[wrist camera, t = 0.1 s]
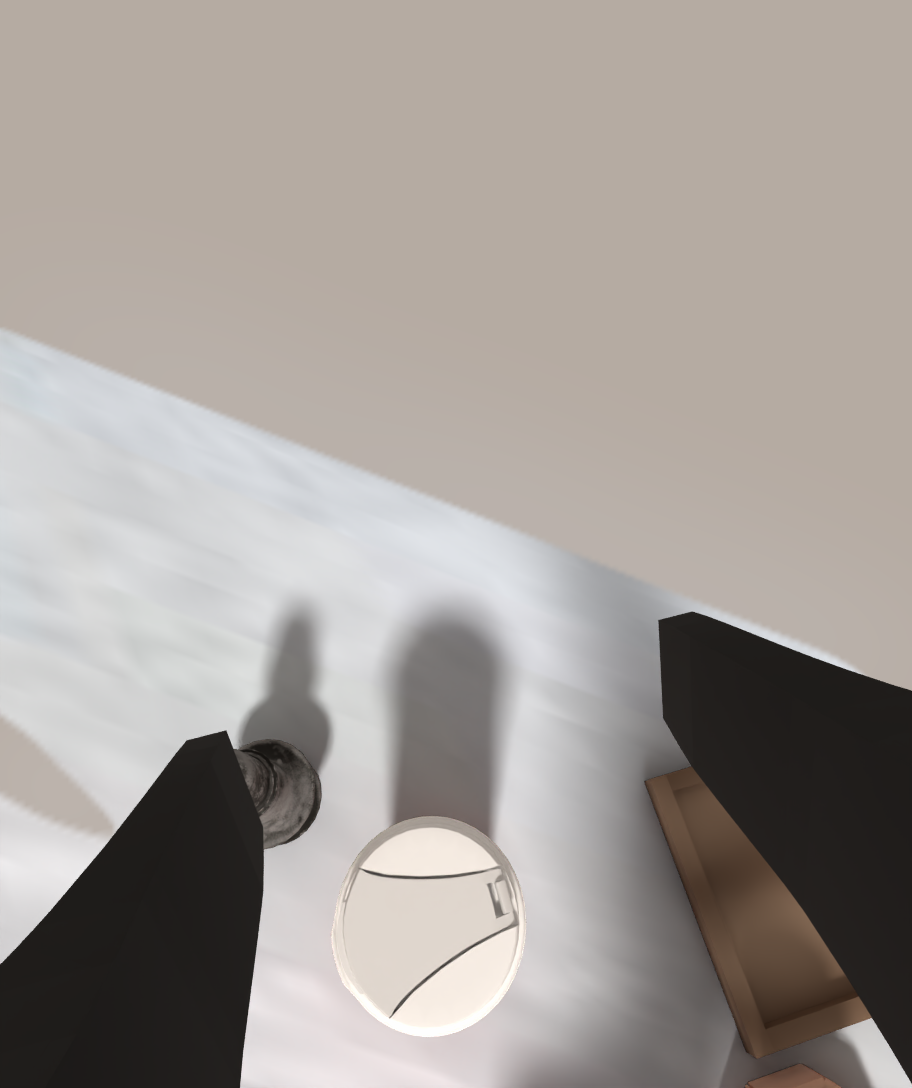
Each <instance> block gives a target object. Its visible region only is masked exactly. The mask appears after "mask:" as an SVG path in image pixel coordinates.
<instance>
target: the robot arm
mask: <svg viewBox="0 0 912 1088" xmlns="http://www.w3.org/2000/svg"><path fill="white" fill-rule="evenodd" d="M658 621H659V641H660V662H661V682H662V703H663V719H664V720H665V722H666V724H667V725H668V727H669V729H670V731H671V732H672V734H673V736H674V738H675V739H676V741H677V743H678V745H679V746H680V748H681V750H682V751H683V753H684V754H685V756H686V758H687V759H688V761H689V762H690V764H691V766H692V767H693V769H694V770H695V772H696V773H697V774H698V776H699V777H700V778H701V779H702V781H703V782H704V783H705V785H706V786H707V787H708V788H709V790H710V791H711V792H712V794H713V795H714V796H715V797H716V799H717V800H718V801H719V803H720V804H721V805H722V806H723V808H724V809H725V810H726V812H727V813H728V814H729V815H730V817H731V818H732V819H733V820H734V822H735V823H736V824H737V825H738V827H739V828H740V829H741V830H742V832H743V833H744V834H745V835H746V837H747V838H748V839H749V841H750V842H751V843H752V844H753V846H754V847H755V848H756V849H757V851H758V852H759V853H760V854H761V856H762V857H763V858H764V859H765V861H766V862H767V863H768V865H769V866H770V867H771V868H772V870H773V871H774V872H775V873H776V875H777V876H778V877H779V878H780V880H781V881H782V882H783V883H784V885H785V886H786V888H787V889H788V890H789V892H790V893H791V894H792V896H793V897H794V899H795V900H796V901H797V903H798V904H799V905H800V907H801V908H802V909H803V911H804V912H805V914H806V915H807V917H808V918H809V920H810V921H811V923H812V925H813V926H814V928H815V929H816V931H817V932H818V934H819V935H820V937H821V938H822V940H823V941H824V943H825V944H826V946H827V948H828V949H829V951H830V952H831V954H832V955H833V957H834V958H835V960H836V961H837V963H838V964H839V966H840V967H841V969H842V971H843V972H844V974H845V975H846V977H847V978H848V980H849V982H850V983H851V985H852V986H853V988H854V990H855V991H856V993H857V994H858V996H859V998H860V999H861V1001H862V1003H863V1004H864V1006H865V1007H866V1009H867V1011H868V1012H869V1014H870V1015H871V1017H872V1019H873V1020H874V1022H875V1023H876V1025H877V1027H878V1028H879V1030H880V1031H881V1033H882V1035H883V1036H884V1038H885V1040H886V1041H887V1043H888V1044H889V1046H890V1048H891V1049H892V1051H893V1053H894V1054H895V1056H896V1058H897V1059H898V1061H899V1063H900V1065H901V1066H902V1068H903V1070H904V1071H905V1073H906V1075H907V1076H908V1078H909V1080H910V1081H911V1083H912V691H911V690H908V689H904V688H901V687H898V686H894V685H891V684H888V683H885V682H882V681H879V680H876V679H873V678H870V677H867V676H864V675H861V674H858V673H855V672H852V671H849V670H846V669H843V668H841V667H838V666H835V665H832V664H830V663H827V662H824V661H821V660H819V659H816V658H813V657H811V656H808V655H805V654H803V653H800V652H797V651H795V650H792V649H790V648H787V647H784V646H782V645H779V644H777V643H774V642H772V641H769V640H767V639H764V638H762V637H759V636H757V635H754V634H752V633H749V632H747V631H744V630H742V629H739V628H737V627H734V626H731V625H729V624H726V623H724V622H721V621H718V620H716V619H713V618H710V617H708V616H705V615H702V614H698V613H695V612H689V613H685V614H681V615H677V616H673V617H669V618H665V619H661V620H658ZM263 874H264V844H263V825H262V823H261V820H260V817H259V815H258V812H257V809H256V807H255V804H254V802H253V799H252V796H251V794H250V791H249V789H248V786H247V783H246V781H245V778H244V776H243V773H242V770H241V768H240V765H239V762H238V760H237V757H236V755H235V752H234V749H233V747H232V744H231V742H230V739H229V736H228V734H227V731H222V732H218V733H214V734H210V735H206V736H203V737H199V738H195V739H191V740H187V741H186V742H185V743H184V744H183V746H182V747H181V748H180V749H179V751H178V752H177V753H176V754H175V756H174V757H173V758H172V760H171V761H170V762H169V763H168V765H167V766H166V767H165V769H164V770H163V771H162V773H161V774H160V775H159V777H158V778H157V779H156V781H155V782H154V783H153V785H152V786H151V787H150V789H149V790H148V791H147V793H146V794H145V795H144V797H143V798H142V799H141V801H140V802H139V803H138V804H137V806H136V807H135V808H134V810H133V811H132V812H131V813H130V815H129V816H128V817H127V819H126V820H125V821H124V822H123V824H122V825H121V826H120V828H119V829H118V830H117V831H116V833H115V834H114V835H113V837H112V838H111V839H110V840H109V842H108V843H107V844H106V846H105V847H104V848H103V849H102V850H101V852H100V853H99V854H98V855H97V856H96V858H95V859H94V860H93V861H92V862H91V863H90V865H89V866H88V867H87V868H86V869H85V871H84V872H83V873H82V874H81V875H80V876H79V878H78V879H77V880H76V881H75V882H74V884H73V885H72V886H71V887H70V888H69V889H68V891H67V892H66V893H65V894H64V895H63V897H62V898H61V899H60V900H59V901H58V902H57V904H56V905H55V906H54V907H53V908H52V910H51V911H50V912H49V913H48V914H47V915H46V916H45V917H44V919H43V920H42V921H41V922H40V923H39V924H38V925H37V926H36V927H35V928H34V930H33V931H32V932H31V933H30V934H29V935H28V936H27V937H26V938H25V939H24V940H23V941H22V942H21V944H20V945H19V946H18V947H17V948H16V949H15V950H14V951H13V952H12V953H11V954H10V955H9V956H8V957H7V958H6V959H5V960H4V961H3V962H2V963H1V964H0V1088H240V1080H241V1069H242V1058H243V1048H244V1040H245V1033H246V1025H247V1017H248V1009H249V1002H250V994H251V986H252V978H253V971H254V963H255V955H256V947H257V939H258V931H259V923H260V915H261V907H262V898H263Z"/></svg>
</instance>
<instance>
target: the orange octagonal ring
mask: <svg viewBox="0 0 912 1088" xmlns="http://www.w3.org/2000/svg"><path fill="white" fill-rule="evenodd" d="M748 1085H749V1086H748ZM748 1085H746V1086H745V1088H842V1087H840V1086H839V1085H837V1084H835V1083H834V1082H832V1081H831V1080H829V1079H827V1078H826V1077H824V1076H822V1075H821V1074H819V1073H817V1072H816V1071H814V1070H812V1069H810V1068H809V1067H807V1066H805V1065H804V1064H797V1065H794V1066H792V1067H789V1068H786V1069H783V1070H781V1071H778V1072H775V1073H772V1074H770V1075H767V1076H764V1077H761V1078H759V1079H756V1080H753V1081H750V1082H748Z"/></svg>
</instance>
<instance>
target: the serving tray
mask: <svg viewBox="0 0 912 1088" xmlns="http://www.w3.org/2000/svg"><path fill="white" fill-rule="evenodd" d="M644 782H645V785H646V788H647V790H648V793H649V795H650V798H651V801H652V803H653V806H654V809H655V811H656V814H657V817H658V819H659V822H660V825H661V827H662V830H663V833H664V835H665V838H666V841H667V843H668V846H669V849H670V851H671V854H672V857H673V859H674V862H675V864H676V867H677V870H678V872H679V875H680V878H681V880H682V883H683V886H684V888H685V891H686V894H687V896H688V899H689V902H690V904H691V907H692V910H693V912H694V915H695V918H696V920H697V923H698V925H699V928H700V931H701V933H702V936H703V939H704V941H705V944H706V947H707V949H708V952H709V955H710V957H711V960H712V963H713V965H714V968H715V971H716V973H717V976H718V979H719V981H720V984H721V987H722V989H723V992H724V994H725V997H726V1000H727V1002H728V1005H729V1008H730V1010H731V1013H732V1016H733V1018H734V1021H735V1024H736V1026H737V1029H738V1032H739V1034H740V1037H741V1040H742V1042H743V1045H744V1048H745V1050H746V1052H747V1053H749V1054H750V1055H752V1056H753V1057H755V1058H756V1059H758V1058H761V1057H764V1056H766V1055H769V1054H772V1053H775V1052H778V1051H780V1050H783V1049H786V1048H789V1047H791V1046H794V1045H797V1044H800V1043H803V1042H805V1041H808V1040H811V1039H814V1038H817V1037H819V1036H822V1035H825V1034H828V1033H831V1032H833V1031H836V1030H839V1029H842V1028H844V1027H847V1026H850V1025H853V1024H856V1023H858V1022H861V1021H864V1020H867V1019H870V1018H872V1017H871V1015H870V1014H869V1012H868V1011H867V1009H866V1007H865V1006H864V1004H863V1003H862V1001H861V999H860V998H859V996H858V994H857V993H856V991H855V990H854V988H853V986H852V985H851V983H850V982H849V980H848V978H847V977H846V975H845V974H844V972H843V971H842V969H841V967H840V966H839V964H838V963H837V961H836V960H835V958H834V957H833V955H832V954H831V952H830V951H829V949H828V948H827V946H826V944H825V943H824V941H823V940H822V938H821V937H820V935H819V934H818V932H817V931H816V929H815V928H814V926H813V925H812V923H811V921H810V920H809V918H808V917H807V915H806V914H805V912H804V911H803V909H802V908H801V907H800V905H799V904H798V903H797V901H796V900H795V899H794V897H793V896H792V894H791V893H790V892H789V890H788V889H787V888H786V886H785V885H784V883H783V882H782V881H781V880H780V878H779V877H778V876H777V875H776V873H775V872H774V871H773V870H772V868H771V867H770V866H769V865H768V863H767V862H766V861H765V859H764V858H763V857H762V856H761V854H760V853H759V852H758V851H757V849H756V848H755V847H754V846H753V844H752V843H751V842H750V841H749V839H748V838H747V837H746V835H745V834H744V833H743V832H742V830H741V829H740V828H739V827H738V825H737V824H736V823H735V822H734V820H733V819H732V818H731V817H730V815H729V814H728V813H727V812H726V810H725V809H724V808H723V806H722V805H721V804H720V803H719V801H718V800H717V799H716V797H715V796H714V795H713V794H712V792H711V791H710V790H709V788H708V787H707V786H706V785H705V783H704V782H703V781H702V779H701V778H700V777H699V776H698V774H697V773H696V772H695V770H694V769H693V767H688V768H685V769H682V770H678V771H675V772H672V773H668V774H665V775H662V776H658V777H655V778H651V779H649V780H646V781H644Z"/></svg>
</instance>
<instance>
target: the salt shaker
mask: <svg viewBox="0 0 912 1088" xmlns="http://www.w3.org/2000/svg"><path fill="white" fill-rule="evenodd" d="M234 752H235V755H236V757H237V760H238V762H239V765H240V768H241V770H242V773H243V776H244V778H245V781H246V783H247V786H248V789H249V791H250V794H251V796H252V799H253V802H254V804H255V807H256V809H257V812H258V815H259V817H260V820H261V823H262V825H263V844H264V849H268V848H273V847H275V846H277V845H282V844H287V843H289V842H291V841H293V840H295V839H297V838H298V837H300V836H301V835H302V834H303V833H304V832H306V831H307V830H308V828H309V827H310V826H311V824H312V823H313V821H314V820H315V818H316V815H317V813H318V811H319V808H320V802H321V784H320V782H319V779H318V776H317V774H316V772H315V771H314V769H313V768H312V767H311V765H310V763H309V762H308V760H307V759H306V758H305V756H304V755H303V753H302V752H300V751H299V750H298V749H296V748H295V747H294V746H293V745H291V744H288V743H285V742H283V741H280V740H270V739H266V740H260V741H254V742H252V743H250V744H247V745H245V746H243V747H241V748H240V749H238V750H237V749H234Z"/></svg>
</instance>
